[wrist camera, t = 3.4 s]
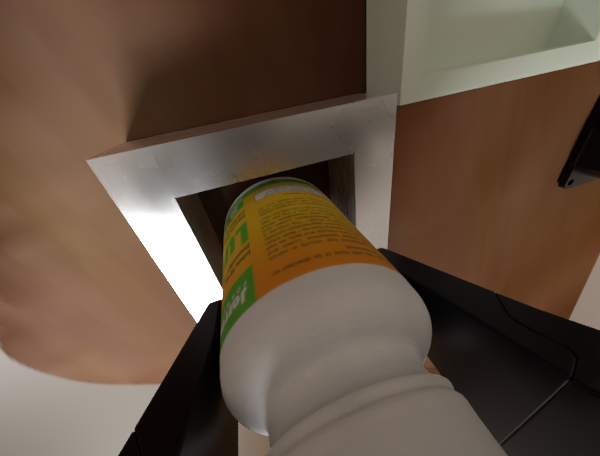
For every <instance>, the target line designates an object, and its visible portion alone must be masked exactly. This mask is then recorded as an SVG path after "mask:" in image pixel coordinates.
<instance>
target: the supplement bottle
mask: <svg viewBox="0 0 600 456" xmlns="http://www.w3.org/2000/svg"><path fill="white" fill-rule="evenodd" d="M431 339H432V324H431V319H430V315H429V312H428V310H427V308H426V305H425V304H424V302H423V300H422V299H421V297H420V296H419V294H418V293H417V292H416V291H415V290H414V289H413V287H412V286H411V285H410V284H409V283H408V282H407V280H406V279H405V278H404V277H403V276H402V275H401V274H400V273H399V272H398V271H397V269H396V268H395V267H394V266H393V265H392V264H391V263H390V262H389V261H388V260H387V259H386V258H385V257H384V256H383V255H382V254H381V253H380V252H379V251H378V250H377V249H376V248H375V247H374V246H373V245H372V244H371V242H370V241H369V240H368V239H367V238H366V237H365V236H364V235H363V234H362V233H361V232H360V231H359V230H358V229H357V228H356V227H355V226H354V225H353V224H352V223H351V222H350V221H349V220H348V219H347V218H346V217H345V216H344V215H343V213H342V212H341V211H340V210H339V209H338V208H337V207H336V206H335V205H334V204H333V203H332V202H331V201H330V200H329V199H328V198H327V196H326V195H325V194H324V193H323V192H321V191H320V190H319V189H318V188H317V187H315V186H314V185H312V184H311V183H309V182H307V181H304V180H301V179H298V178H293V177H274V178H269V179H266V180H263V181H260V182H258V183H256V184H254V185H252V186H250V187H249V188H247V189H246V190H245V191H243V192H242V193H241V194H240V195H239V196H238V197H237V199H236V200H235V201H234V203H233V204H232V206H231V208H230V209H229V212H228V214H227V217H226V221H225V228H224V248H223V282H222V310H221V339H220V383H221V390H222V396H223V398H224V401H225V404H226V406H227V408H228V409H229V411H230V412H231V414H232V415H233V416H234V418H235V419H236V420H237V421H238V422H240V423H241V424H242V425H243V426H245V427H246V428H248V429H250V430H252V431H254V432H256V433H259V434H262V435H266V436H269V441H270V448H271V449H270V450H269V451H268V452H267V454H266V455H265V456H508V455H507V454H506V453H505V451H504V450H503V449H502V447H501V446H500V445H499V443H498V442H497V441H496V439H495V438H494V437H493V435H492V434H491V433H490V431H489V430H488V429H487V427H486V426H485V425H484V423H483V422H482V421H481V420H480V418H479V417H478V415H477V414H476V412H475V411H474V409H473V408H472V407H471V405H470V404H469V402H468V401H467V399H466V398H465V397H464V396H463V395H462V394H460V393H458V392H456V391H455V390H454V387H453V385H452V384H451V382H450V381H449V380H448V379H447V378H445V377H443V376H440V375H436V374H429V373H428V371H427V370H426V369H425V367H424V366H423V363H424V361H425V359H426V357H427V355H428V352H429V349H430V345H431Z"/></svg>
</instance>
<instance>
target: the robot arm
mask: <svg viewBox="0 0 600 456" xmlns="http://www.w3.org/2000/svg"><path fill="white" fill-rule="evenodd" d="M599 178H600V102H599V104H598V106H597V108H596V110H595V112H594V114H593V116H592V118H591V120H590V122H589V124H588V126H587V128H586V130H585V132H584V134H583V136H582V138H581V140H580V142H579V144H578V146H577V148H576V150H575V152H574V154H573V156H572V158H571V160H570V162H569V164H568V166H567V168H566V170H565V172H564V174H563V176H562V178H561V180H560V182H559V184H558V186H559V187H562V188H565V189H568V188H571V187H574V186H577V185H580V184H583V183H586V182H589V181H592V180H595V179H599ZM377 250H378V251H379V252H380V253H381V254H382V255H383V256H384V257H385V258H386V259H387V260H388V261H389V262H390V263H391V264H392V265H393V266H394V267H395V268H396V269H397V271H398V272H399V273H400V274H401V275H402V276H403V277H404V278H405V279H406V280H407V282H408V283H409V284H410V285H411V286H412V287H413V289H414V290H415V291H416V292H417V293H418V294H419V296H420V297H421V299H422V300H423V302H424V304H425V305H426V308H427V310H428V312H429V315H430V319H431V324H432V339H431V345H430V349H429V352H428V355H427V356H428V358H429V359H430V360H431V362H432V363H433V365H434V366H435V367H436V369H437V370H438V371H439V373H440V374H441V376H443V377H445V378H447V379H448V380H449V381H450V382H451V384H452V385H453V387H454V390H455V391H456V392H458V393H460V394H462V395H463V396H464V397H465V398H466V399H467V401H468V402H469V404H470V405H471V407H472V408H473V409H474V411H475V412H476V414H477V415H478V417H479V418H480V420H481V421H482V422H483V423H484V425H485V426H486V427H487V429H488V430H489V431H490V433H491V434H492V435H493V437H494V438H495V439H496V441H497V442H498V443H499V445H500V446H501V447H502V449H503V450H504V451H505V453H506V454H507V455H508V456H600V330H597V329H594V328H591V327H588V326H585V325H582V324H580V323H577V322H574V321H570V320H568V319H565V318H562V317H559V316H556V315H553V314H551V313H548V312H545V311H542V310H539V309H536V308H534V307H531V306H529V305H526V304H523V303H521V302H518V301H515V300H513V299H510V298H508V297H505V296H503V295H500V294H498V293H496V294H495V293H494V292H493V291H490V290H488V289H485V288H483V287H480V286H478V285H475V284H473V283H470V282H467V281H465V280H462V279H460V278H457V277H455V276H452V275H450V274H447V273H445V272H442V271H440V270H437V269H435V268H432V267H430V266H427V265H425V264H422V263H420V262H417V261H415V260H412V259H410V258H407V257H405V256H402V255H400V254H397V253H395V252H392V251H390V250H387V249H385V248H378V249H377ZM221 310H222V300H221V299H219V300H216V301H213V302H210V303H209V304H208V306H207V307H206V309H205V311H204V312H203V314H202V316H201V317H200V319H199V321H198V322H197V324H196V326H195V327H194V329H193V331H192V332H191V334H190V336H189V338H188V339H187V341H186V343H185V344H184V346H183V348H182V349H181V351H180V353H179V354H178V356H177V358H176V359H175V361H174V363H173V365H172V366H171V368H170V370H169V371H168V373H167V375H166V376H165V378H164V380H163V381H162V383H161V385H160V386H159V388H158V390H157V392H156V393H155V395H154V397H153V398H152V400H151V402H150V403H149V405H148V407H147V408H146V410H145V412H144V413H143V415H142V417H141V419H140V420H139V422H138V424H137V425H136V427H135V432H132V434H131V435H130V437H129V438H128V440H127V442H126V444H125V445H124V447H123V449H122V450H121V452H120V454H119V455H118V456H238V421H237V420H236V419H235V418H234V416H233V415H232V414H231V412H230V411H229V409H228V408H227V406H226V404H225V401H224V398H223V396H222V390H221V383H220V339H221Z"/></svg>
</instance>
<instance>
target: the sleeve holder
mask: <svg viewBox="0 0 600 456" xmlns="http://www.w3.org/2000/svg"><path fill="white" fill-rule="evenodd" d="M396 108H397V93H356V94H351V95H347V96H342V97H337V98H332V99H328V100H323V101H318V102H313V103H309V104H304V105H299V106H294V107H290V108H285V109H280V110H275V111H271V112H266V113H261V114H256V115H251V116H247V117H242V118H237V119H232V120H228V121H223V122H218V123H213V124H209V125H204V126H199V127H194V128H190V129H185V130H180V131H175V132H171V133H166V134H161V135H156V136H152V137H147V138H142V139H137V140H133V141H128V142H124V143H122V144H120V145H118V146H116V147H114V148H111V149H109V150H107V151H105V152H103V153H100V154H98V155H96V156H94V157H92V158H90V159H87V160H86V161H87V163H88V164H89V166H90V167H91V169H92V170H93V172H94V173H95V175H96V176H97V177H98V179H99V180H100V182H101V183H102V185H103V186H104V188H105V189H106V191H107V192H108V193H109V195H110V196H111V198H112V199H113V201H114V202H115V204H116V205H117V206H118V208H119V209H120V211H121V212H122V214H123V215H124V217H125V218H126V220H127V221H128V222H129V224H130V225H131V227H132V228H133V230H134V231H135V233H136V234H137V236H138V237H139V238H140V240H141V241H142V243H143V244H144V246H145V247H146V249H147V250H148V252H149V253H150V254H151V256H152V257H153V259H154V260H155V262H156V263H157V265H158V266H159V268H160V269H161V270H162V272H163V273H164V275H165V276H166V278H167V279H168V281H169V282H170V284H171V285H172V286H173V288H174V289H175V291H176V292H177V294H178V295H179V297H180V298H181V300H182V301H183V302H184V304H185V305H186V307H187V308H188V310H189V311H190V313H191V314H192V316H193V317H194V318H195V320H196V321H197V322H198V321H199V319H200V317H201V316H202V314H203V312H204V311H205V309H206V307H207V306H208V304H209V303H210V302H213V301H216V300H219V299H221V300H222V282H223V249H222V247H221V245H220V243H219V240H218V238H217V236H216V234H215V232H214V229H213V227H212V225H211V223H210V220H209V218H208V216H207V214H206V212H205V209H204V207H203V205H202V203H201V200H200V198H199V196H198V194H197V193H198V192H202V191H206V190H210V189H214V188H218V187H222V186H226V185H230V184H234V183H238V182H242V181H246V180H250V179H254V178H258V177H262V176H266V175H270V174H274V173H278V172H282V171H286V170H290V169H294V168H297V167H301V166H305V165H309V164H313V163H317V162H321V161H325V160H327V161H328V171H329V182H330V192H331V202H332V203H333V204H334V205H335V206H336V207H337V208H338V209H339V210H340V211H341V212H342V213H343V215H344V216H345V217H346V218H347V219H348V220H349V221H350V222H351V223H352V224H353V225H354V226H355V227H356V228H357V229H358V230H359V231H360V232H361V233H362V234H363V235H364V236H365V237H366V238H367V239H368V240H369V241H370V242H371V244H372V245H373V246H374V247H375V248H376V249H378V248H385V249H387V244H388V229H389V214H390V199H391V183H392V168H393V153H394V138H395V123H396Z"/></svg>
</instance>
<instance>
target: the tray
mask: <svg viewBox="0 0 600 456" xmlns="http://www.w3.org/2000/svg"><path fill="white" fill-rule="evenodd" d="M599 60H600V0H366V93H397V105H399V106H400V105H405V104H409V103H414V102H418V101H422V100H427V99H431V98H436V97H440V96H445V95H449V94H453V93H458V92H462V91H467V90H471V89H476V88H480V87H485V86H489V85H493V84H498V83H502V82H507V81H511V80H516V79H520V78H524V77H529V76H533V75H538V74H542V73H547V72H551V71H555V70H560V69H564V68H569V67H573V66H578V65H582V64H587V63H591V62H595V61H599Z"/></svg>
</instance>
